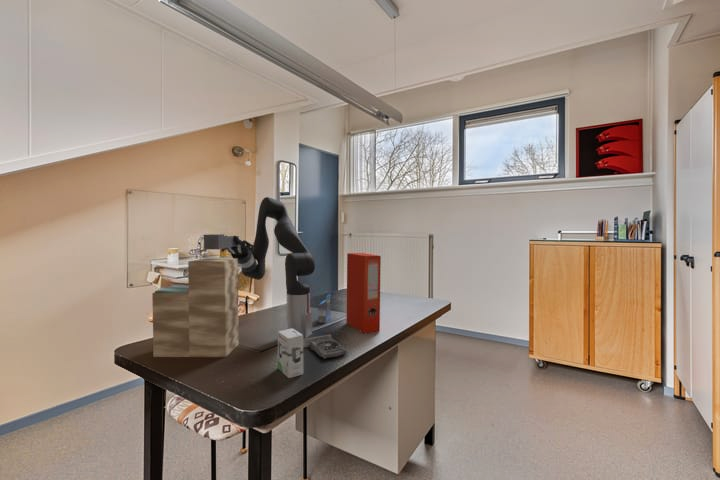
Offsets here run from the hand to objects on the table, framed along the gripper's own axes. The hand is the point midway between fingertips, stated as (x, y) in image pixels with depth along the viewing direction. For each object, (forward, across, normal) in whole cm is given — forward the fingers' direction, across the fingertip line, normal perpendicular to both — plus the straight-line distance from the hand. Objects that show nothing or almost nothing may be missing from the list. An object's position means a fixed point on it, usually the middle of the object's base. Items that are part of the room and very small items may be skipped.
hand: (229, 237), depth 129 cm
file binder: (-31, +52, +28) cm, 67 cm away
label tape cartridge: (-41, +35, +22) cm, 58 cm away
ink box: (+7, +30, +50) cm, 58 cm away
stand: (-7, -6, +41) cm, 42 cm away
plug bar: (+3, 0, +6) cm, 7 cm away
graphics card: (-7, +38, +42) cm, 58 cm away
